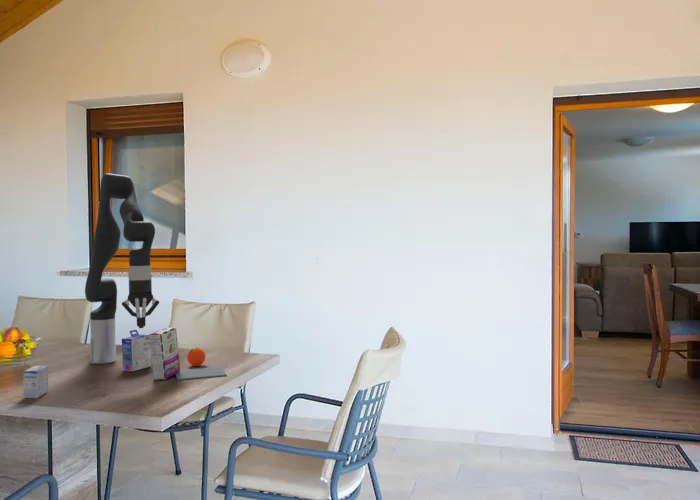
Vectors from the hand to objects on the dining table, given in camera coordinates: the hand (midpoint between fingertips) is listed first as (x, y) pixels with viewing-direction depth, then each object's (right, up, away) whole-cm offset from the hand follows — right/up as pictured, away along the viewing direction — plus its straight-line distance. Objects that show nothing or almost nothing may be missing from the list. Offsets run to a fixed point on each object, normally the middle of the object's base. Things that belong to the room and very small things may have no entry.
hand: (141, 327), depth 213 cm
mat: (+19, -18, +8) cm, 27 cm away
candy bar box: (+8, -18, +4) cm, 20 cm away
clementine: (+14, -18, +21) cm, 30 cm away
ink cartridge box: (-7, -18, +17) cm, 26 cm away
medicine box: (-26, -19, -20) cm, 38 cm away
